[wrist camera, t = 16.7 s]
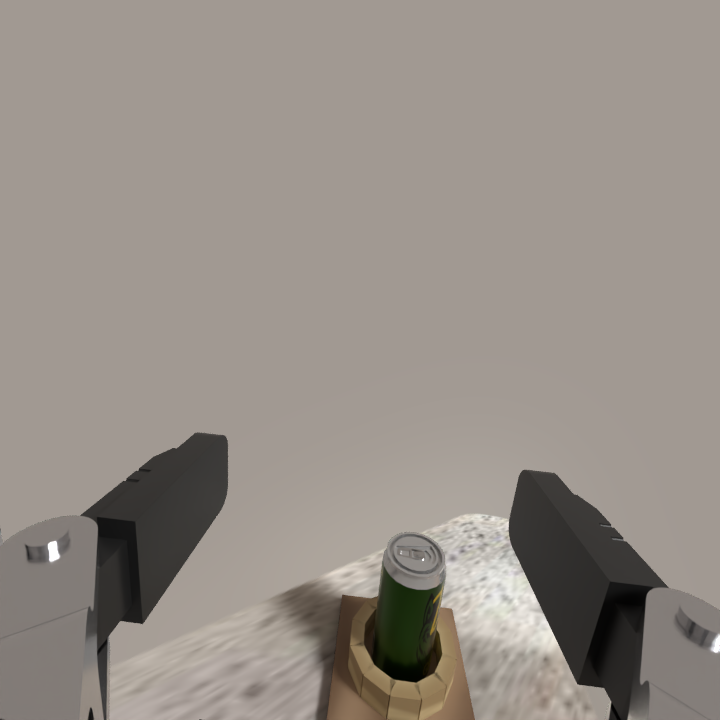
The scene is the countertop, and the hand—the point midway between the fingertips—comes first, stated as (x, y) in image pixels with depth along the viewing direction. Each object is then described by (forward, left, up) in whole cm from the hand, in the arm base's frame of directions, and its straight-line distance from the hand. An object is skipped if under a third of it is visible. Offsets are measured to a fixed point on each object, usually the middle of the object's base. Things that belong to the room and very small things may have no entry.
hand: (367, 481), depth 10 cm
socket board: (+5, +17, -30) cm, 35 cm away
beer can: (+5, +17, -29) cm, 34 cm away
